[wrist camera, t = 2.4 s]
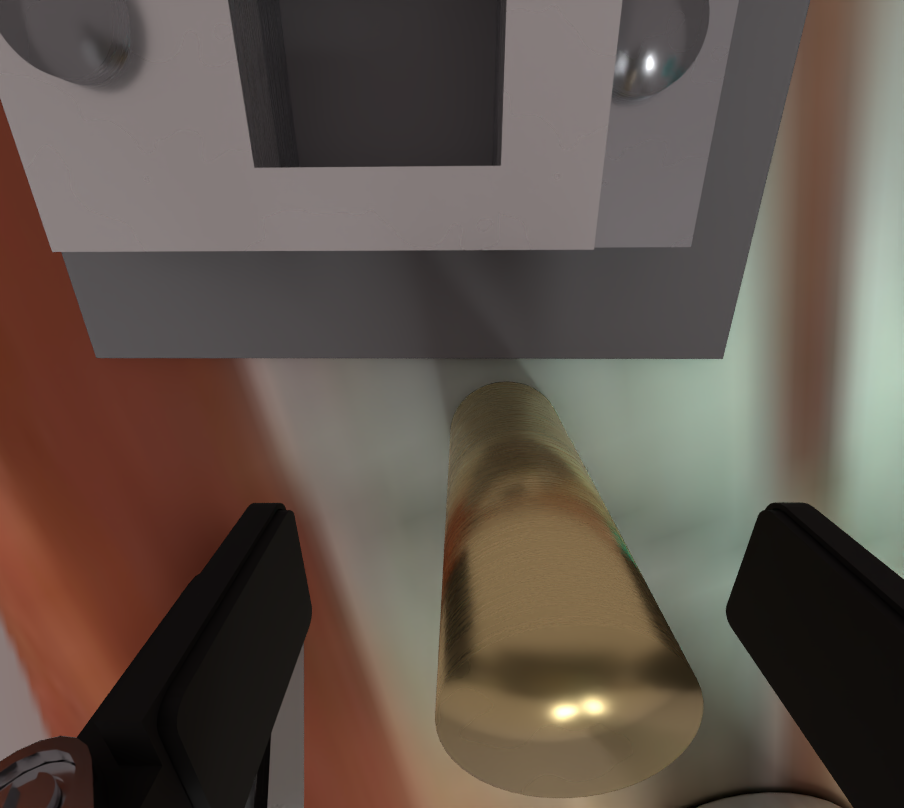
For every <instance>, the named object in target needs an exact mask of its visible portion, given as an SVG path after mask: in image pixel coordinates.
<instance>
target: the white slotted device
mask: <svg viewBox="0 0 904 808" xmlns="http://www.w3.org/2000/svg"><path fill="white" fill-rule="evenodd" d="M245 808H304V643H303V646H302V648H301V651H300V654H299V657H298V660H297V662H296V665H295V668H294V671H293V674H292V676H291V679H290V682H289V685H288V688H287V690H286V693H285V696H284V699H283V702H282V704H281V707H280V710H279V713H278V716H277V718H276V721H275V724H274V727H273V730H272V732H271V735H270V738H269V741H268V744H267V746H266V749H265V752H264V755H263V758H262V760H261V763H260V766H259V769H258V772H257V774H256V777H255V780H254V783H253V786H252V788H251V791H250V794H249V797H248V800H247V802H246V805H245Z"/></svg>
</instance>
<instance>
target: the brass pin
mask: <svg viewBox="0 0 904 808" xmlns="http://www.w3.org/2000/svg"><path fill="white" fill-rule="evenodd" d="M702 716H703V697H702V691H701V688H700V686H699V683H698V681H697V679H696V677H695V675H694V673H693V671H692V669H691V667H690V665H689V663H688V662H687V660H686V658H685V656H684V654H683V652H682V650H681V648H680V646H679V644H678V643H677V641H676V639H675V637H674V635H673V633H672V631H671V629H670V627H669V626H668V624H667V622H666V620H665V618H664V616H663V614H662V612H661V610H660V609H659V607H658V605H657V603H656V601H655V599H654V597H653V595H652V593H651V591H650V590H649V588H648V586H647V584H646V582H645V580H644V578H643V576H642V574H641V573H640V571H639V569H638V567H637V565H636V563H635V561H634V559H633V557H632V556H631V554H630V552H629V550H628V548H627V546H626V544H625V542H624V540H623V538H622V537H621V535H620V533H619V531H618V529H617V527H616V525H615V523H614V521H613V520H612V518H611V516H610V514H609V512H608V510H607V508H606V506H605V504H604V503H603V501H602V499H601V497H600V495H599V493H598V491H597V489H596V487H595V485H594V484H593V482H592V480H591V478H590V476H589V474H588V472H587V470H586V468H585V467H584V465H583V463H582V461H581V459H580V457H579V455H578V453H577V451H576V450H575V448H574V446H573V444H572V442H571V440H570V438H569V436H568V434H567V432H566V431H565V429H564V427H563V425H562V423H561V421H560V419H559V417H558V415H557V414H556V412H555V410H554V408H553V406H552V405H551V403H550V402H549V401H548V399H547V398H546V397H545V396H544V395H542V394H541V393H540V392H538V391H537V390H535V389H534V388H532V387H530V386H527V385H524V384H521V383H515V382H498V383H492V384H489V385H486V386H483V387H481V388H479V389H477V390H476V391H474V392H472V393H471V394H470V395H469V396H467V397H466V398H465V399H464V400H463V401H462V403H461V404H460V405H459V407H458V408H457V410H456V412H455V414H454V416H453V419H452V423H451V432H450V451H449V469H448V488H447V507H446V525H445V544H444V562H443V581H442V600H441V618H440V637H439V655H438V674H437V693H436V711H435V723H436V730H437V733H438V736H439V739H440V742H441V743H442V745H443V747H444V749H445V751H446V752H447V753H448V754H449V756H450V757H451V758H452V759H453V760H454V761H455V762H456V763H457V764H458V765H459V766H460V767H461V768H462V769H464V770H465V771H466V772H468V773H469V774H471V775H472V776H474V777H476V778H477V779H479V780H481V781H483V782H485V783H487V784H490V785H492V786H494V787H497V788H500V789H503V790H506V791H509V792H513V793H518V794H522V795H528V796H535V797H545V798H575V797H587V796H593V795H599V794H604V793H608V792H612V791H616V790H619V789H622V788H625V787H628V786H631V785H634V784H636V783H638V782H641V781H643V780H645V779H647V778H649V777H651V776H653V775H654V774H656V773H658V772H660V771H661V770H662V769H664V768H665V767H667V766H668V765H670V764H671V763H672V762H673V761H674V760H676V759H677V758H678V757H679V756H680V755H681V754H682V753H683V752H684V751H685V749H686V748H687V747H688V746H689V745H690V743H691V742H692V740H693V739H694V737H695V736H696V733H697V731H698V729H699V727H700V724H701V720H702Z"/></svg>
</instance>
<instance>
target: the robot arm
mask: <svg viewBox="0 0 904 808" xmlns="http://www.w3.org/2000/svg"><path fill="white" fill-rule="evenodd" d="M726 615H727V619H728V622H729V624H730V626H731V628H732V629H733V631H734V632H735V634H736V635H737V637H738V638H739V640H740V641H741V643H742V644H743V646H744V647H745V649H746V650H747V651H748V653H749V654H750V656H751V657H752V659H753V660H754V662H755V663H756V665H757V666H758V668H759V669H760V671H761V672H762V674H763V675H764V676H765V678H766V679H767V681H768V682H769V684H770V685H771V687H772V688H773V690H774V691H775V693H776V694H777V696H778V697H779V699H780V700H781V702H782V703H783V704H784V706H785V707H786V709H787V710H788V712H789V713H790V715H791V716H792V718H793V719H794V721H795V722H796V724H797V725H798V727H799V728H800V730H801V731H802V732H803V734H804V735H805V737H806V738H807V740H808V741H809V743H810V744H811V746H812V747H813V749H814V750H815V752H816V753H817V755H818V756H819V758H820V759H821V760H822V762H823V763H824V765H825V766H826V768H827V769H828V771H829V772H830V774H831V775H832V777H833V778H834V780H835V781H836V783H837V784H838V786H839V787H840V788H841V790H842V791H843V793H844V794H845V796H846V797H847V799H848V800H849V802H850V803H851V805H852V806H853V808H904V579H903V578H901V577H900V576H899V575H898V574H896V573H895V572H894V571H893V570H891V569H890V568H889V567H888V566H886V565H885V564H884V563H883V562H881V561H880V560H879V559H878V558H876V557H875V556H874V555H873V554H871V553H870V552H869V551H868V550H866V549H865V548H864V547H863V546H861V545H860V544H859V543H858V542H856V541H855V540H854V539H853V538H851V537H850V536H849V535H848V534H846V533H845V532H844V531H843V530H841V529H840V528H839V527H838V526H836V525H835V524H834V523H833V522H831V521H830V520H829V519H828V518H826V517H825V516H824V515H823V514H821V513H820V512H819V511H818V510H816V509H815V508H814V507H812V506H811V505H809V504H806V503H771V504H770V505H768V506H767V507H766V509H765V510H764V511H762V512H760V513H759V515H758V518H757V520H756V523H755V526H754V529H753V532H752V535H751V537H750V540H749V543H748V546H747V549H746V552H745V555H744V557H743V560H742V563H741V566H740V569H739V572H738V575H737V577H736V580H735V583H734V586H733V589H732V592H731V594H730V597H729V600H728V603H727V606H726ZM311 616H312V606H311V600H310V595H309V590H308V584H307V579H306V574H305V568H304V563H303V558H302V553H301V547H300V542H299V537H298V532H297V526H296V521H295V516H294V513H293V511H291V510H286V508H285V506H284V505H283V504H282V503H253V504H251V505H250V506H249V507H248V508H247V509H246V511H245V512H244V513H243V515H242V516H241V518H240V519H239V520H238V522H237V523H236V525H235V526H234V527H233V529H232V530H231V531H230V533H229V534H228V536H227V537H226V538H225V540H224V541H223V543H222V544H221V545H220V547H219V548H218V550H217V551H216V552H215V554H214V555H213V557H212V558H211V559H210V561H209V562H208V564H207V565H206V566H205V568H204V569H203V570H202V572H201V573H200V574H199V575H197V576H195V578H194V579H193V580H192V581H191V582H190V583H189V584H188V586H187V587H186V588H185V590H184V591H183V593H182V594H181V595H180V597H179V598H178V599H177V601H176V602H175V604H174V605H173V606H172V608H171V609H170V610H169V612H168V613H167V614H166V616H165V617H164V619H163V620H162V621H161V623H160V624H159V625H158V627H157V628H156V630H155V631H154V632H153V634H152V635H151V636H150V638H149V639H148V641H147V642H146V643H145V645H144V646H143V647H142V649H141V650H140V652H139V653H138V654H137V656H136V657H135V658H134V660H133V661H132V662H131V664H130V665H129V667H128V668H127V669H126V671H125V672H124V673H123V675H122V676H121V678H120V679H119V680H118V682H117V683H116V684H115V686H114V687H113V689H112V690H111V691H110V693H109V694H108V695H107V697H106V698H105V700H104V701H103V702H102V704H101V705H100V706H99V708H98V709H97V710H96V712H95V713H94V715H93V716H92V717H91V719H90V720H89V721H88V723H87V724H86V726H85V727H84V728H83V730H82V731H81V732H80V734H79V735H78V737H77V738H75V737H65V736H59V737H54V738H49V739H45V740H40V741H38V742H36V743H34V744H31V745H29V746H27V747H25V748H22V749H20V750H18V751H16V752H14V753H13V754H11V755H9V756H8V757H6V758H5V759H3V760H2V761H0V808H245V805H246V802H247V800H248V797H249V794H250V791H251V788H252V786H253V783H254V780H255V777H256V774H257V772H258V769H259V766H260V763H261V760H262V758H263V755H264V752H265V749H266V746H267V744H268V741H269V738H270V735H271V732H272V730H273V727H274V724H275V721H276V718H277V716H278V713H279V710H280V707H281V704H282V702H283V699H284V696H285V693H286V690H287V688H288V685H289V682H290V679H291V676H292V674H293V671H294V668H295V665H296V662H297V660H298V657H299V654H300V651H301V648H302V646H303V643H304V640H305V637H306V634H307V632H308V629H309V626H310V622H311ZM696 808H841V807H839V806H837V805H835V804H833V803H831V802H829V801H827V800H823V799H820V798H816V797H813V796H809V795H802V794H794V793H774V792H766V793H754V794H744V795H739V796H734V797H728V798H723V799H720V800H717V801H713V802H710V803H707V804H703V805H701V806H699V807H696Z"/></svg>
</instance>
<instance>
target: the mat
mask: <svg viewBox="0 0 904 808" xmlns="http://www.w3.org/2000/svg"><path fill="white" fill-rule="evenodd" d="M809 3H810V0H739V3H738V8H737V13H736V18H735V23H734V28H733V34H732V39H731V44H730V49H729V54H728V59H727V64H726V69H725V75H724V80H723V85H722V90H721V95H720V100H719V105H718V111H717V116H716V121H715V126H714V131H713V136H712V141H711V147H710V152H709V157H708V162H707V167H706V172H705V177H704V183H703V188H702V193H701V198H700V203H699V208H698V213H697V219H696V224H695V229H694V234H693V239H692V244H691V247H604V248H594V250H393V251H150V252H62V255H63V258H64V261H65V264H66V267H67V271H68V274H69V277H70V280H71V283H72V286H73V289H74V292H75V295H76V298H77V301H78V304H79V307H80V310H81V313H82V316H83V319H84V322H85V325H86V328H87V331H88V334H89V337H90V340H91V343H92V346H93V349H94V352H95V355H96V358H554V359H723V356H724V352H725V347H726V343H727V339H728V335H729V331H730V327H731V323H732V319H733V315H734V311H735V306H736V302H737V298H738V294H739V290H740V286H741V282H742V278H743V274H744V270H745V265H746V261H747V257H748V253H749V249H750V245H751V241H752V237H753V233H754V228H755V224H756V220H757V216H758V212H759V208H760V204H761V200H762V196H763V192H764V187H765V183H766V179H767V175H768V171H769V167H770V163H771V159H772V155H773V151H774V146H775V142H776V138H777V134H778V130H779V126H780V122H781V118H782V114H783V109H784V105H785V101H786V97H787V93H788V89H789V85H790V81H791V77H792V73H793V68H794V64H795V60H796V56H797V52H798V48H799V44H800V40H801V36H802V32H803V27H804V23H805V19H806V15H807V11H808V7H809ZM279 4H280V12H281V20H282V29H283V37H284V45H285V53H286V61H287V69H288V77H289V85H290V94H291V102H292V110H293V118H294V126H295V134H296V142H297V150H298V159H299V167H411V166H492V160H493V124H494V87H495V51H496V14H497V0H279Z"/></svg>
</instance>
